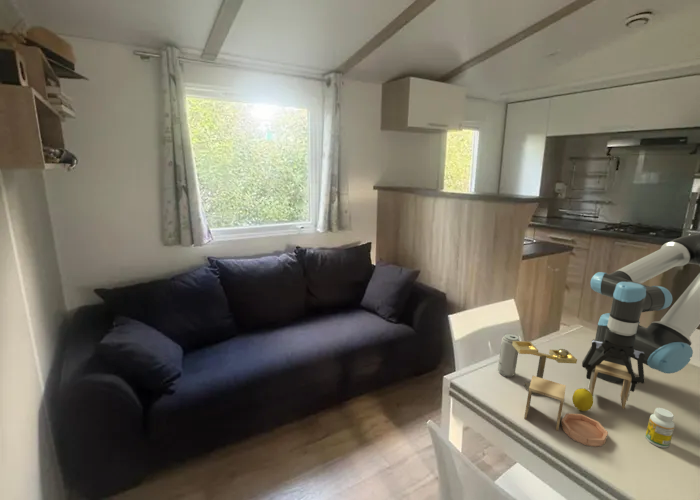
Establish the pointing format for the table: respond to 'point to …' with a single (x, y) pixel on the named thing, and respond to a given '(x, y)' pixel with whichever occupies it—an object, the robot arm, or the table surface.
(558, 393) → the oak cover
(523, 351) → the balance
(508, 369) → the energy drink can
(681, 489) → the table surface
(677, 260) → the robot arm
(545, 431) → the table surface
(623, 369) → the oak cover
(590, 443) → the saucer
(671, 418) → the supplement bottle
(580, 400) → the lemon
